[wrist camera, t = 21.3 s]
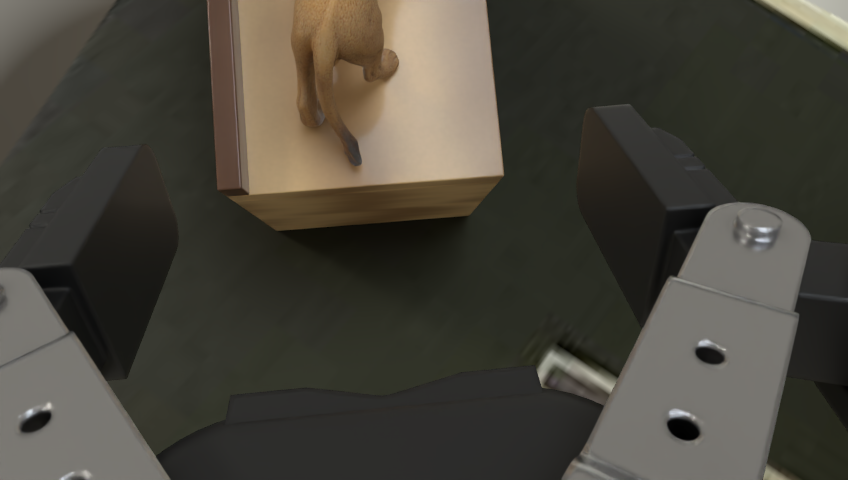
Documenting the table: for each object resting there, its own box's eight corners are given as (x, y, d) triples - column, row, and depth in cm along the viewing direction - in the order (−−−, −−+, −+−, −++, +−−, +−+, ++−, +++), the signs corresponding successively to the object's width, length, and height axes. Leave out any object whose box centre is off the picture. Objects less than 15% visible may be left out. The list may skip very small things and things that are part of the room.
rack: (443, -56, 41) (469, -230, 28) (469, 215, 39) (511, 168, 26) (258, -46, 41) (194, -221, 27) (276, 231, 39) (216, 190, 25)
